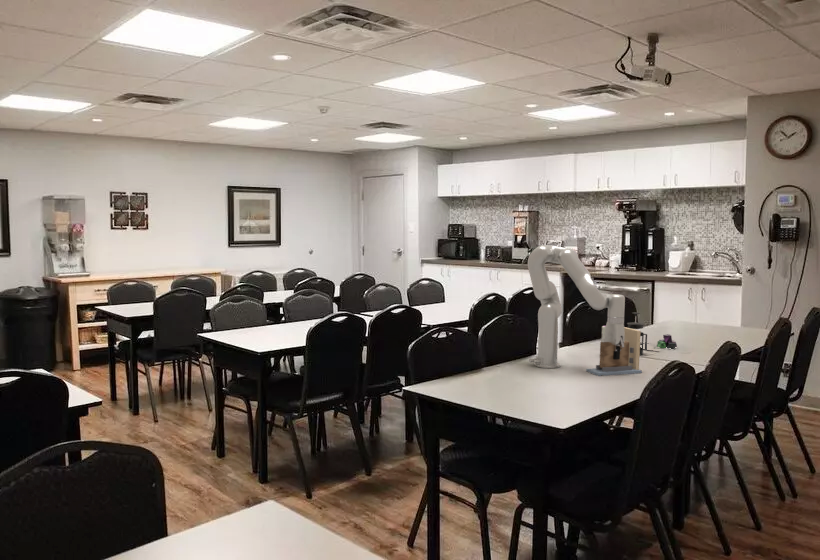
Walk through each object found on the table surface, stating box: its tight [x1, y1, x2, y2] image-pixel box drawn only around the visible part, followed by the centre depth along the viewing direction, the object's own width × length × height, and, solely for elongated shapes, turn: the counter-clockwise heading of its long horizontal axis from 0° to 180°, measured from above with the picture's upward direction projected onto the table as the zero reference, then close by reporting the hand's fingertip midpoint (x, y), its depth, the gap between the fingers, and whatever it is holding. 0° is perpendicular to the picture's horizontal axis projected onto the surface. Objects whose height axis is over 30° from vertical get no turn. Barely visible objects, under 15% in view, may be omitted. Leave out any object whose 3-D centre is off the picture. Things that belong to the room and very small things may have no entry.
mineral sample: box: [640, 333, 678, 350], centre depth 381 cm, size 35×35×9 cm
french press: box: [626, 311, 648, 357], centre depth 359 cm, size 12×9×23 cm
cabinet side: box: [585, 326, 643, 377], centre depth 318 cm, size 24×20×20 cm
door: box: [599, 341, 629, 368], centre depth 313 cm, size 15×3×12 cm, turn 108°
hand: (614, 358), depth 313 cm, fingers closed on door, 3 cm apart
